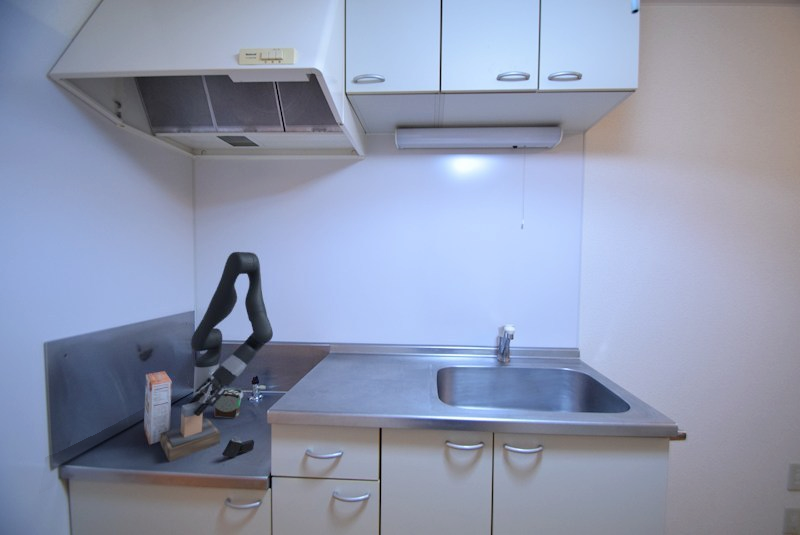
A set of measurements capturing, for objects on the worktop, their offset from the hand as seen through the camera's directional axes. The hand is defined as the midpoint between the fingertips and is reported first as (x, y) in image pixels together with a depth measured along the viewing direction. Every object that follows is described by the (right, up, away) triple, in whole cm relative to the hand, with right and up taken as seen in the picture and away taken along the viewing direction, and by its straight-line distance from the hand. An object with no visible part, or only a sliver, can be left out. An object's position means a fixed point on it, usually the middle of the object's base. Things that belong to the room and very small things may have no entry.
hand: (192, 410), depth 101 cm
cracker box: (-16, -11, +4) cm, 20 cm away
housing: (0, -7, 0) cm, 7 cm away
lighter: (+19, -12, -6) cm, 23 cm away
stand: (0, -11, 0) cm, 11 cm away
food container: (+1, -12, +21) cm, 24 cm away
